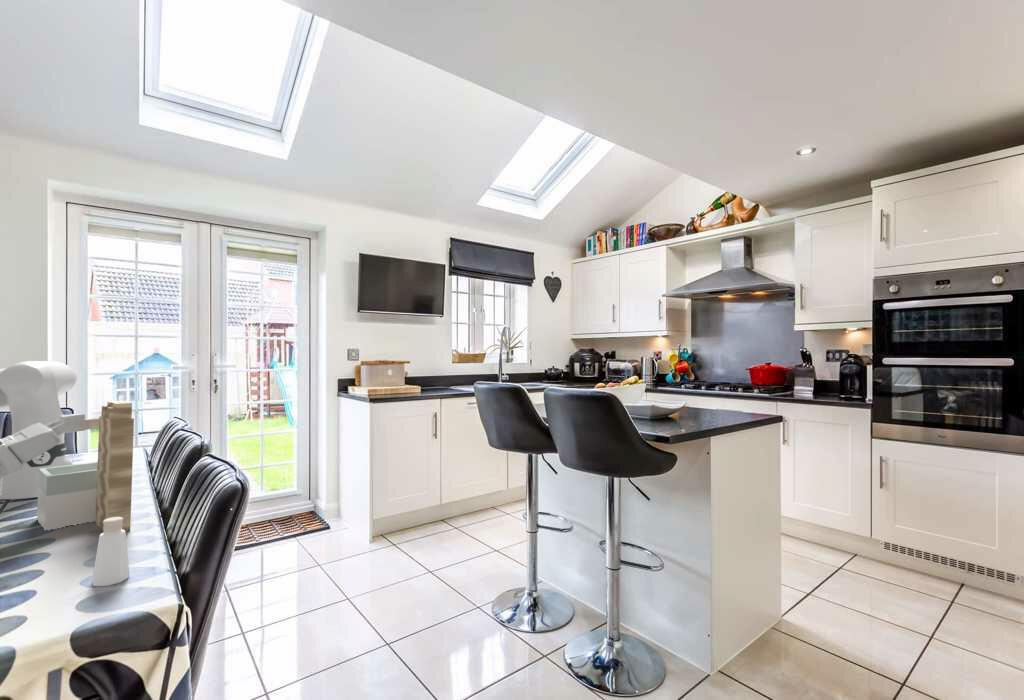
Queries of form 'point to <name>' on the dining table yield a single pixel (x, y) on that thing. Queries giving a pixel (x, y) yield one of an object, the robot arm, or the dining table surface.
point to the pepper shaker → (111, 554)
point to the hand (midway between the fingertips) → (73, 419)
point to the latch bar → (80, 422)
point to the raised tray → (67, 495)
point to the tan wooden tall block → (115, 463)
